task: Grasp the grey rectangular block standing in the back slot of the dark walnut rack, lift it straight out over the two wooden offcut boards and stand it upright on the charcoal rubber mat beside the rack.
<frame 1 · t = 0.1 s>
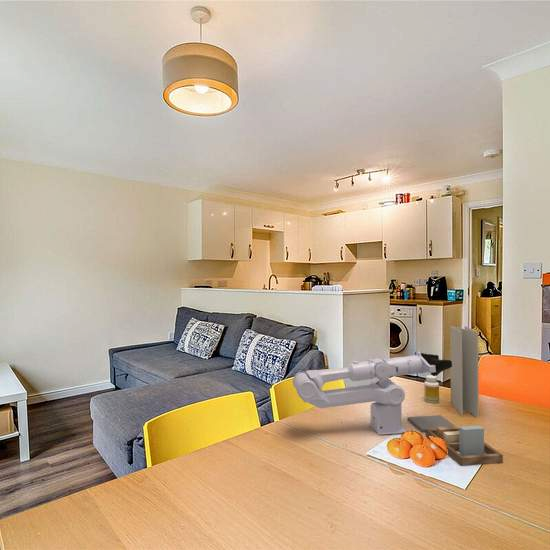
hand: (444, 360, 121), 22 cm above the table, tool horizontal, fingers open, 7 cm apart
grey rectangular block: (471, 456, 101), resting in walnut rack
supplement bottle: (431, 401, 144), on the table
rubber mat: (431, 424, 122), on the table
birch offcut: (458, 446, 108), resting in walnut rack
brochure: (464, 410, 135), on the table
stained offcut: (451, 440, 111), resting in walnut rack
walnut rack: (461, 447, 106), on the table
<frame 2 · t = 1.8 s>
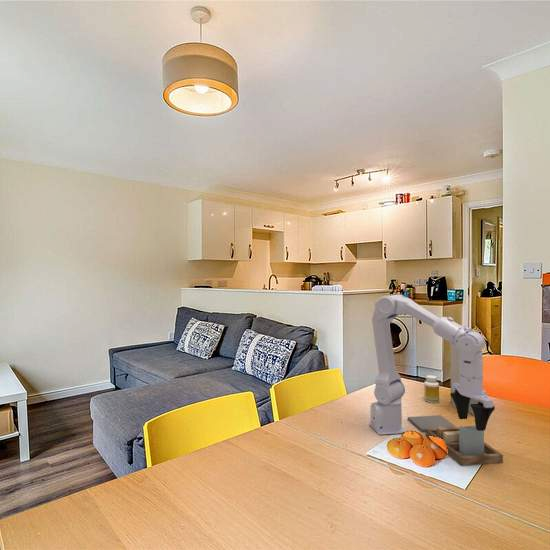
hand: (471, 424, 101), 9 cm above the table, tool pointing down, fingers open, 7 cm apart
nothing on the table moved.
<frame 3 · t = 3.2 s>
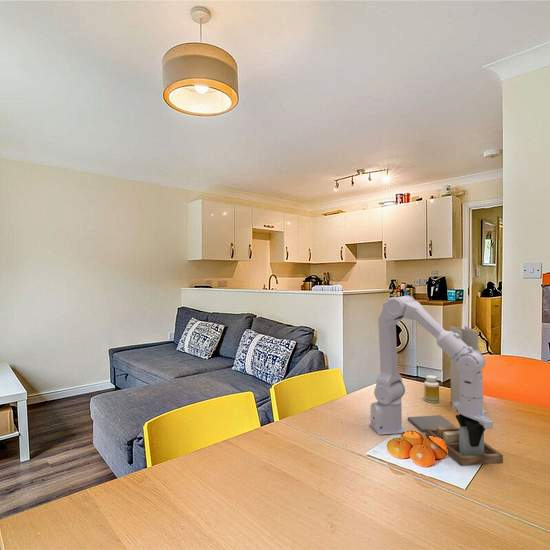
hand: (471, 443, 101), 3 cm above the table, tool pointing down, fingers closed on grey rectangular block, 2 cm apart
grey rectangular block: (471, 456, 101), resting in walnut rack, touching gripper
everything else where it was.
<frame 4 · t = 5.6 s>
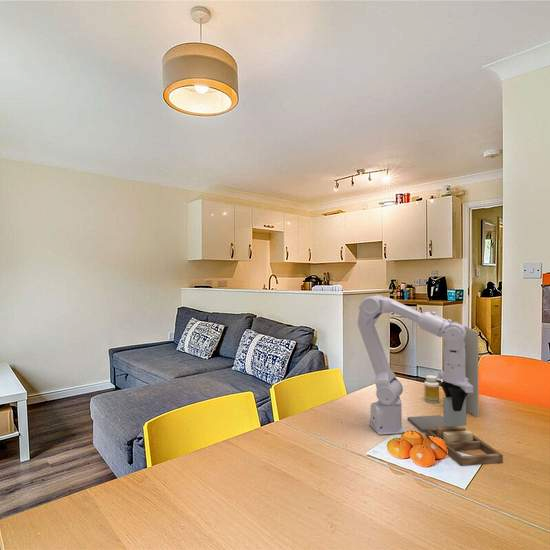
hand: (454, 409, 109), 10 cm above the table, tool pointing down, fingers closed on grey rectangular block
grey rectangular block: (454, 424, 109), point 6 cm above the table, touching gripper
everything else where it was.
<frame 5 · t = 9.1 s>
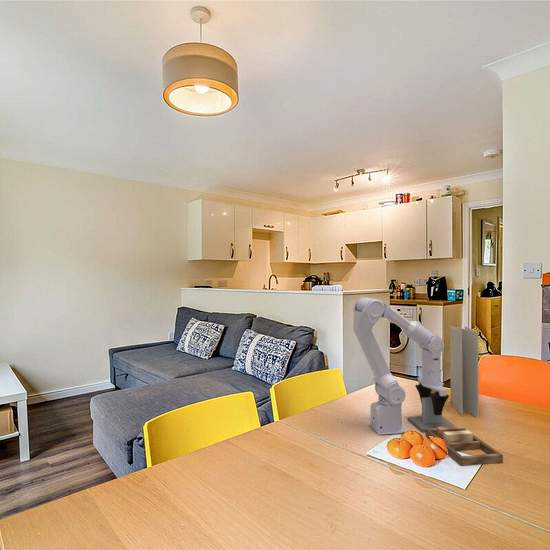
hand: (431, 410, 122), 5 cm above the table, tool pointing down, fingers open, 7 cm apart
grey rectangular block: (432, 421, 122), point 1 cm above the table, touching rubber mat
everything else where it was.
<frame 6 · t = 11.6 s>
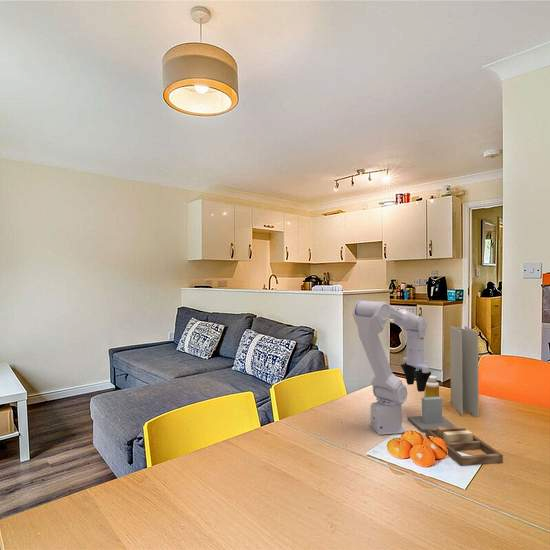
hand: (415, 387, 129), 10 cm above the table, tool pointing down, fingers open, 7 cm apart
nothing on the table moved.
at the end: grey rectangular block inside the target area on the rubber mat (0.1 cm from its centre), point 1.0 cm above the rubber mat's base; grey rectangular block tilted 0°; the gripper is holding nothing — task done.
